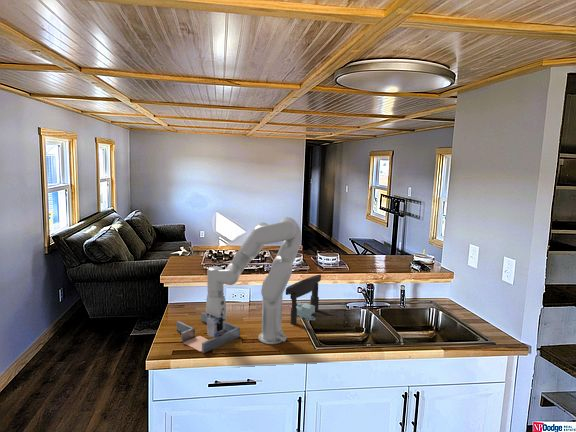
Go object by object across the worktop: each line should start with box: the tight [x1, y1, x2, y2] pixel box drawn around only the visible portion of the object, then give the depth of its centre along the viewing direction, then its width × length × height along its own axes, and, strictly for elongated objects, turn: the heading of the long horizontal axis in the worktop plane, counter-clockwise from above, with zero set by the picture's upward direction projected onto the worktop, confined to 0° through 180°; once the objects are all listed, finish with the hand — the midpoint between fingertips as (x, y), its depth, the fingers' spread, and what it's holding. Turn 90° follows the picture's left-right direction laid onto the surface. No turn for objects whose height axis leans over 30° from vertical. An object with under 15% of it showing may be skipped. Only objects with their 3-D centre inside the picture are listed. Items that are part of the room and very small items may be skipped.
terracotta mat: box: [182, 335, 209, 353], centre depth 188 cm, size 13×10×1 cm
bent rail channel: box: [176, 311, 241, 354], centre depth 196 cm, size 28×22×4 cm
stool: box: [285, 274, 322, 325], centre depth 221 cm, size 16×21×33 cm
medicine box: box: [206, 316, 226, 338], centre depth 194 cm, size 8×4×9 cm, turn 148°
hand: (215, 328), depth 195 cm, fingers closed on medicine box, 4 cm apart
